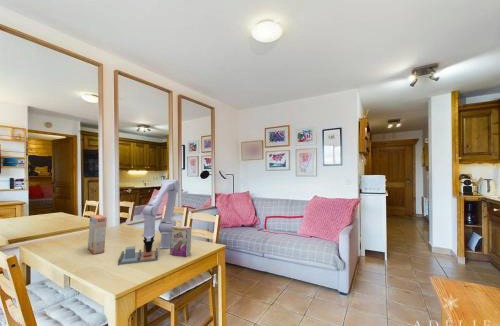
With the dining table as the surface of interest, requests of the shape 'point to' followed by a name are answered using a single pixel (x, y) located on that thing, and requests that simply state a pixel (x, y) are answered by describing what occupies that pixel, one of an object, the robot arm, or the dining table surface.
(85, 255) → the dining table surface
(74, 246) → the dining table surface
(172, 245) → the candy bar box
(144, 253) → the terracotta block
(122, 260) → the slot rack
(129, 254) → the slate-blue block
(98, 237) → the cracker box
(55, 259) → the dining table surface
